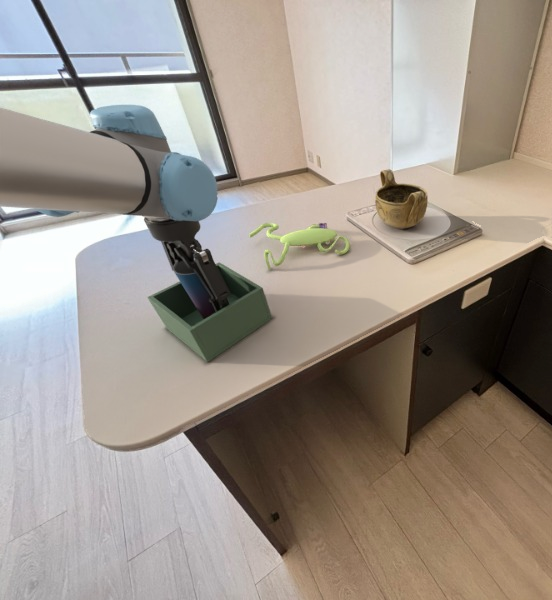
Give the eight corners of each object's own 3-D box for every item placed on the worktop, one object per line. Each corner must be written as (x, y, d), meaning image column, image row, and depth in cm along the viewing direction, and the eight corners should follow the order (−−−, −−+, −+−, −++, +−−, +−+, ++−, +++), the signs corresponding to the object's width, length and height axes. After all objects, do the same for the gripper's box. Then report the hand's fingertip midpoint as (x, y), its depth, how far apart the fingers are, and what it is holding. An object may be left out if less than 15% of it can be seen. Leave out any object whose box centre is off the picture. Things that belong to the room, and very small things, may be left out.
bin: (207, 362, 64) (189, 331, 58) (166, 328, 71) (147, 297, 65) (272, 318, 74) (262, 287, 68) (231, 292, 80) (219, 262, 75)
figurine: (251, 240, 99) (246, 223, 96) (337, 225, 108) (335, 209, 104) (257, 273, 86) (251, 256, 83) (353, 254, 95) (352, 237, 91)
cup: (242, 317, 72) (220, 261, 63) (215, 335, 68) (186, 278, 58) (223, 305, 75) (198, 250, 65) (195, 323, 71) (165, 266, 61)
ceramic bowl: (363, 215, 114) (361, 172, 104) (405, 206, 120) (407, 164, 111) (394, 245, 99) (395, 198, 90) (440, 233, 106) (445, 188, 96)
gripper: (227, 222, 53) (261, 321, 67) (158, 188, 62) (201, 282, 76) (181, 241, 48) (228, 343, 62) (113, 201, 57) (168, 298, 72)
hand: (213, 309), depth 69 cm, fingers open, 9 cm apart
